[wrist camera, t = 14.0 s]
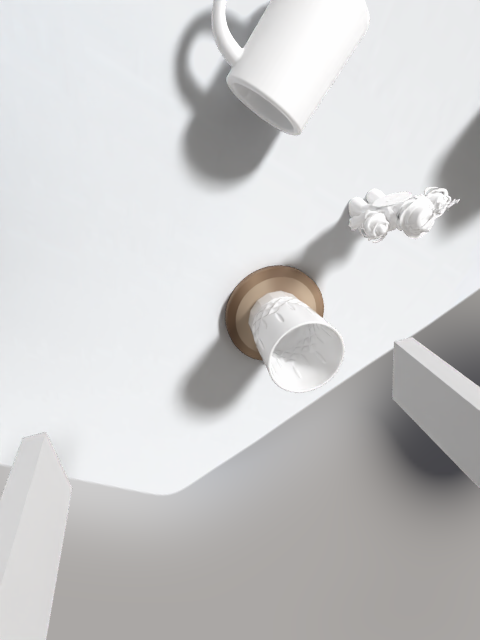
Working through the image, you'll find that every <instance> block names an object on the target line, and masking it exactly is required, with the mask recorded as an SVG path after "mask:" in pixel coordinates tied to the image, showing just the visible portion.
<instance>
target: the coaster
mask: <svg viewBox="0 0 480 640" xmlns="http://www.w3.org/2000/svg"><path fill="white" fill-rule="evenodd" d="M276 291H284V292H287V293H291V294H293V295H294V296H295V297H296V298H297V299H299V300H300V301H301V302H303V303H305V304H306V305H307V306H309V307H310V308H311V309H313V310H314V311H315V312H316V313H317V314H319V315H320V316H321V317H322V318H323V313H324V304H323V298H322V294H321V292H320V290H319V288H318V287H317V285H316V284H315V283H314V281H313V280H312V279H310V278H309V277H308V276H307V275H306V274H305V273H303V272H301V271H300V270H298V269H295V268H293V267H289V266H282V265H277V266H269V267H265V268H262V269H259V270H257V271H255V272H253V273H251V274H250V275H248V276H247V277H246V278H244V279H243V280H242V281H241V282H240V283H239V284H238V285H237V287H236V288H235V289H234V291H233V292H232V294H231V296H230V298H229V300H228V303H227V307H226V312H225V321H226V327H227V330H228V333H229V335H230V337H231V339H232V341H233V343H234V344H235V346H236V347H237V348H238V349H239V350H240V351H241V352H242V353H244V354H245V355H247V356H249V357H251V358H254V359H257V360H262V361H263V359H262V357H261V355H260V353H259V351H258V348H257V346H256V343H255V341H254V337H253V335H252V332H251V329H250V326H249V324H248V321H249V315H250V310H251V309H252V307H253V306H254V304H255V303H256V301H257V300H258V299H260V298H261V297H263V296H264V295H266V294H267V293H270V292H276Z"/></svg>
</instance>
